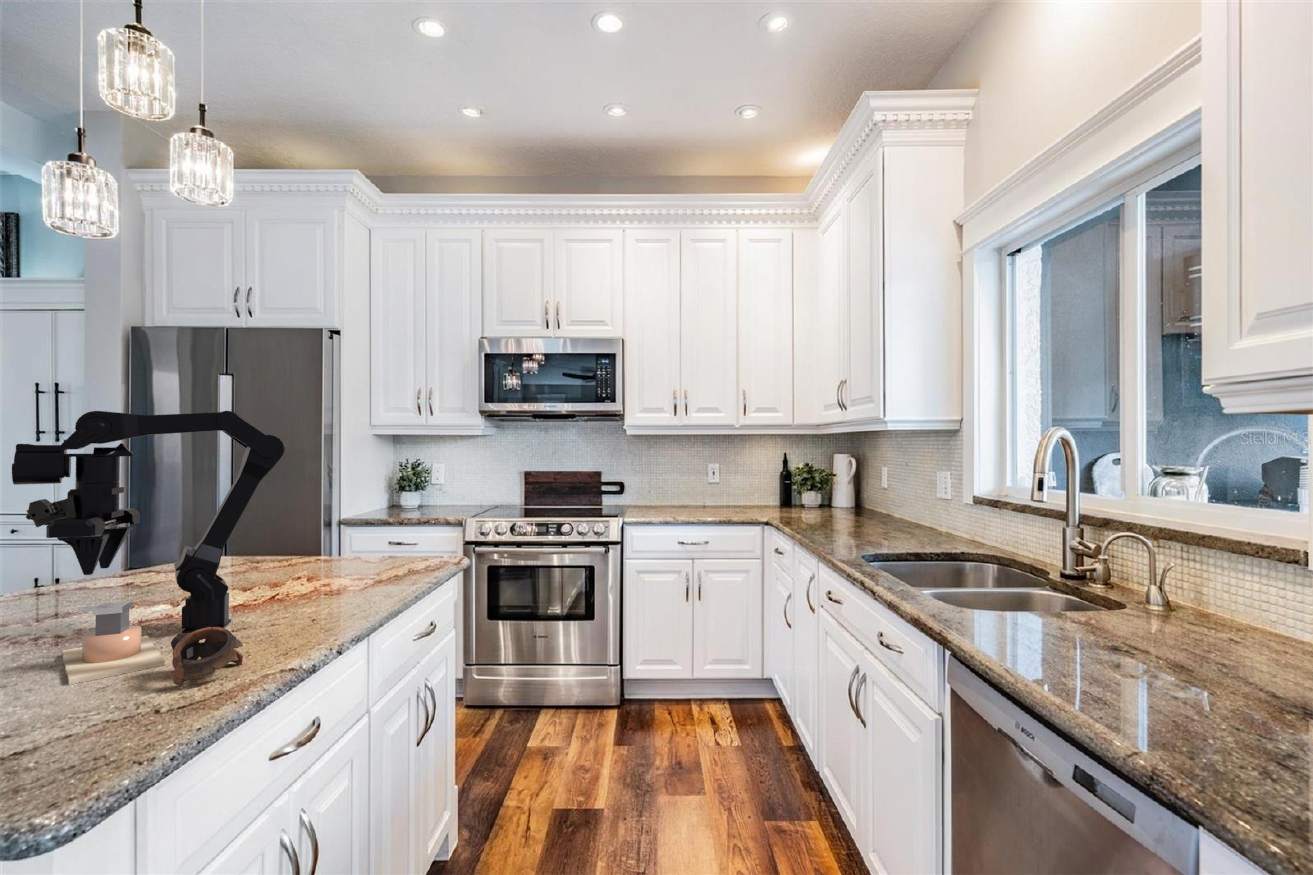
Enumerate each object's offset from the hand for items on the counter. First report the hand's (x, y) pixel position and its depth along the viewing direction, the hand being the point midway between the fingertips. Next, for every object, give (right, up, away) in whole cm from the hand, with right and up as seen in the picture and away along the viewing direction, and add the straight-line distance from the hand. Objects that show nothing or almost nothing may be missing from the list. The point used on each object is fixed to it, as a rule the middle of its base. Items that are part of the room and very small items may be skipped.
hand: (96, 571), depth 106 cm
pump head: (+8, -8, -8) cm, 14 cm away
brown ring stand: (+29, -13, -13) cm, 34 cm away
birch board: (+9, -13, -7) cm, 17 cm away
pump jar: (+9, -13, -7) cm, 17 cm away
